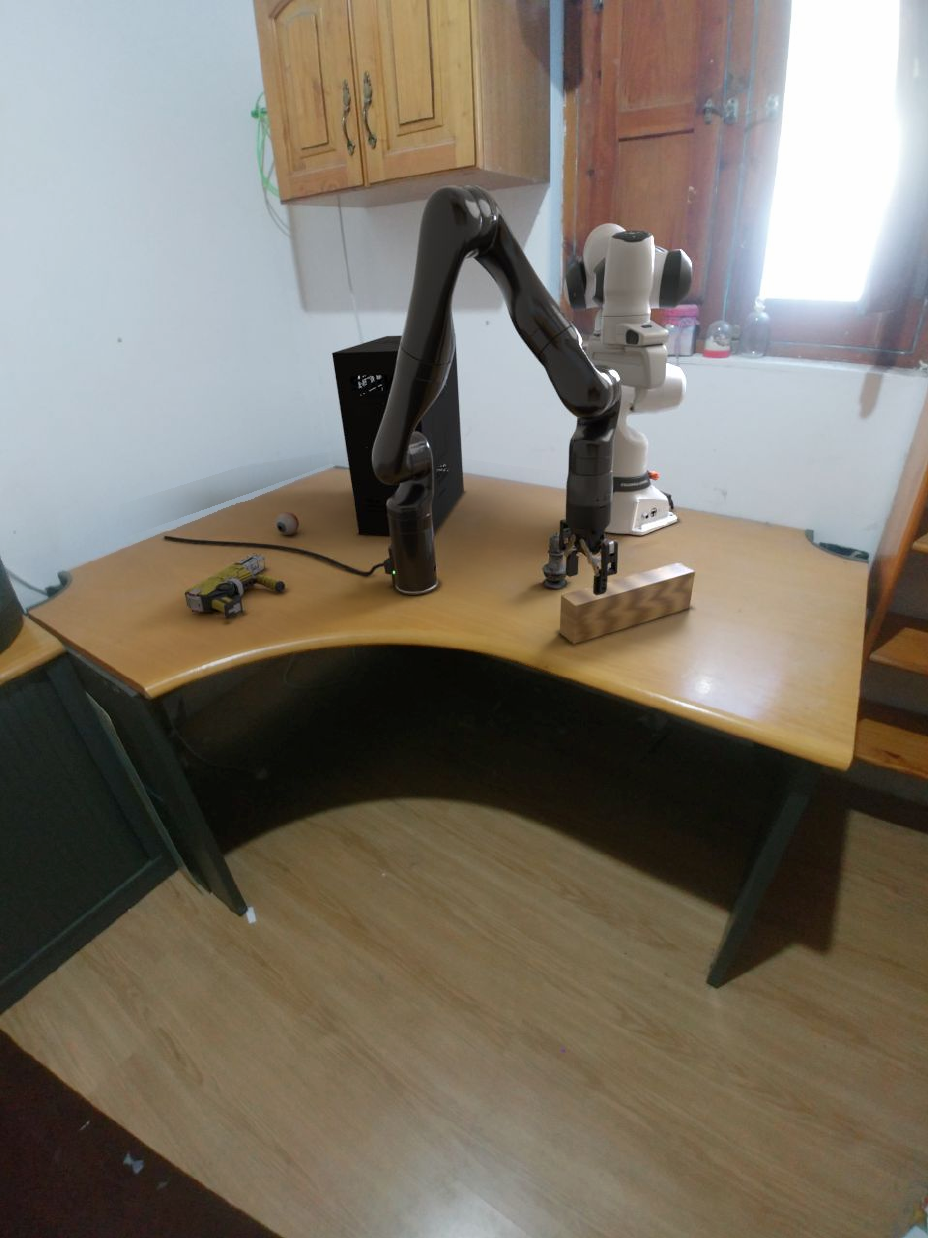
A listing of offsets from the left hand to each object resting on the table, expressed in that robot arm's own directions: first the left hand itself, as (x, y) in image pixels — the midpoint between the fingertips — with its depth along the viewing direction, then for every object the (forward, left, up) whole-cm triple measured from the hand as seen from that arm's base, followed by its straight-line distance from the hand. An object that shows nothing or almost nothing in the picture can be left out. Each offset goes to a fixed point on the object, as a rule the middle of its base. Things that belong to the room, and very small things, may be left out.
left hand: (585, 584), depth 108 cm
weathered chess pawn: (-14, +16, -11) cm, 24 cm away
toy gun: (-71, -22, -11) cm, 75 cm away
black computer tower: (-71, +38, -11) cm, 81 cm away
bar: (+5, +9, -11) cm, 15 cm away
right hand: (-8, +30, +24) cm, 40 cm away
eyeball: (-91, +7, -11) cm, 92 cm away
